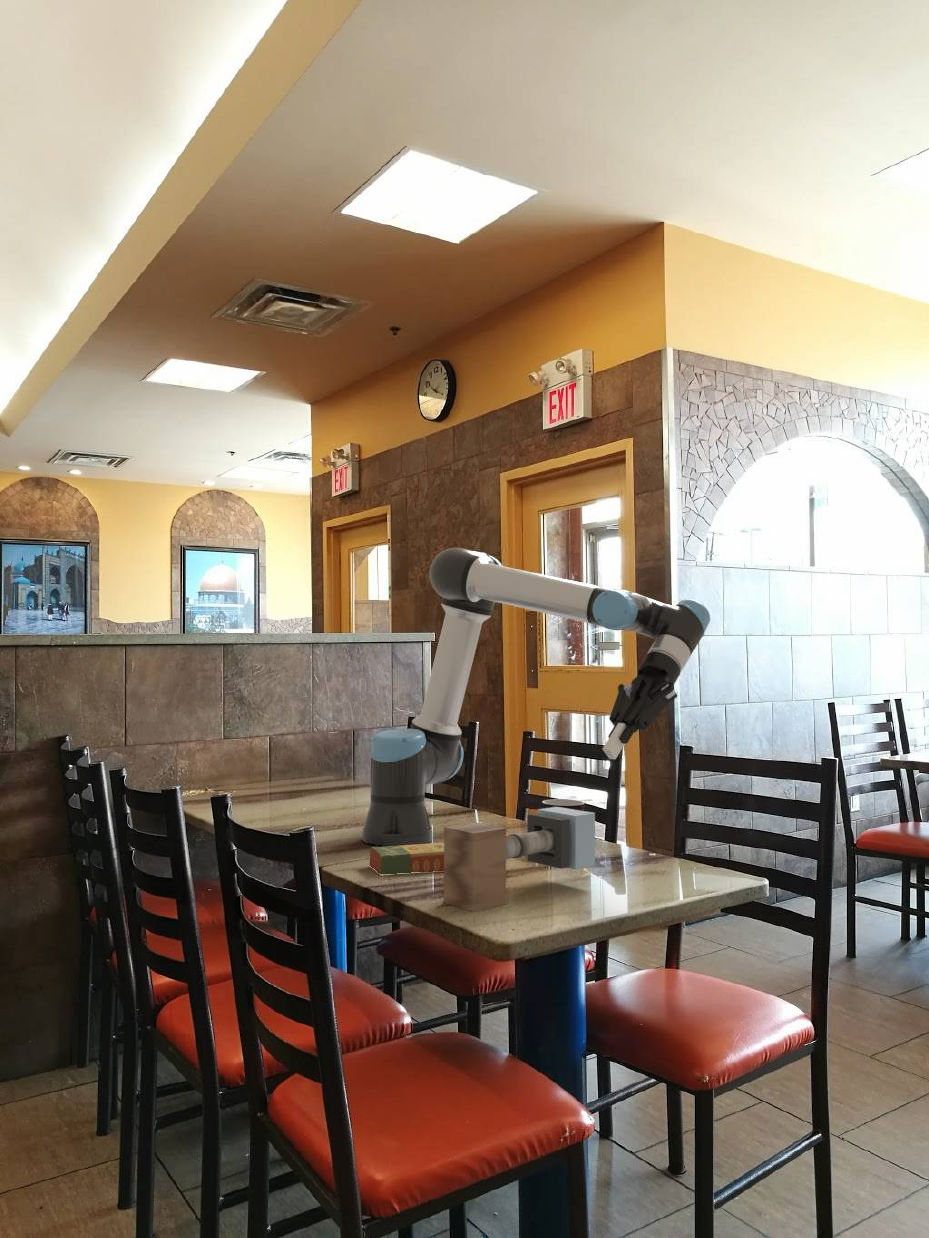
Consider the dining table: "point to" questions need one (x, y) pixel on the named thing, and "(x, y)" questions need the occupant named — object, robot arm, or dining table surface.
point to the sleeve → (577, 835)
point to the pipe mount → (484, 862)
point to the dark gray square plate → (560, 839)
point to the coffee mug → (564, 804)
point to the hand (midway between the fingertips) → (609, 754)
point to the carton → (408, 858)
